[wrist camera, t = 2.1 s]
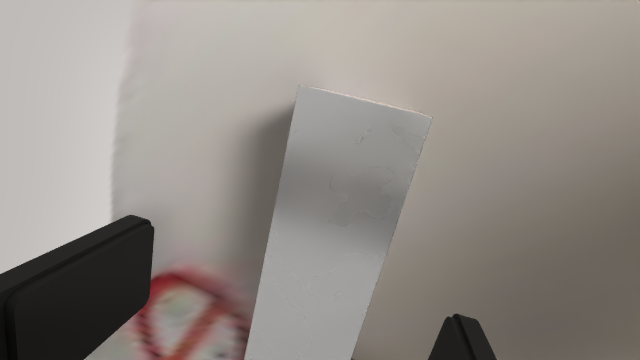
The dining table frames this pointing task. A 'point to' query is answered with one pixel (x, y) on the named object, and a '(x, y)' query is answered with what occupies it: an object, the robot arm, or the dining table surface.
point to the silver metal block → (332, 223)
